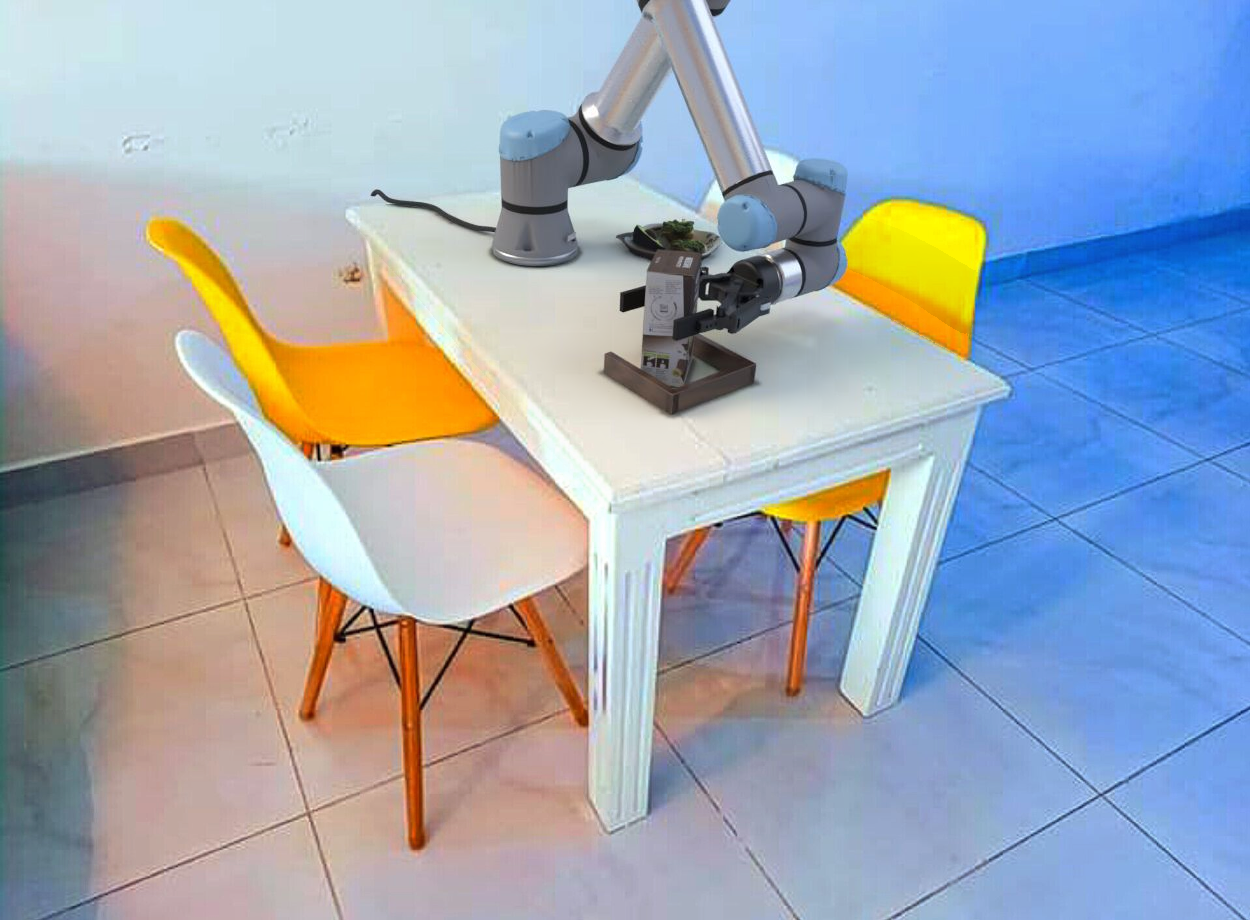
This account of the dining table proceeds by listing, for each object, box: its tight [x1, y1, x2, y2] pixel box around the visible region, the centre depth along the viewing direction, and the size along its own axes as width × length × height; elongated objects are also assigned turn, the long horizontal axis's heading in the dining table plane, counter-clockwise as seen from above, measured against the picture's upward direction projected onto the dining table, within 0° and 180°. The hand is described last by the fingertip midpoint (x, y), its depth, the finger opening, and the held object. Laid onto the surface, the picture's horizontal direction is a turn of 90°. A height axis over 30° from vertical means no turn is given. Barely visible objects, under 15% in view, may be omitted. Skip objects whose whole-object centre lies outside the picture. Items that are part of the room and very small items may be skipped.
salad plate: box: [615, 218, 723, 262], centre depth 170 cm, size 19×18×5 cm
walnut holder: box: [603, 333, 757, 416], centre depth 126 cm, size 14×15×3 cm
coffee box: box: [640, 249, 702, 388], centre depth 124 cm, size 9×6×16 cm
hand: (647, 316), depth 121 cm, fingers closed on coffee box, 10 cm apart
